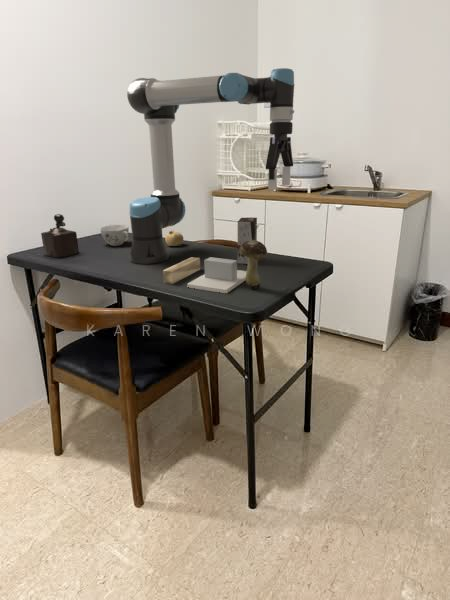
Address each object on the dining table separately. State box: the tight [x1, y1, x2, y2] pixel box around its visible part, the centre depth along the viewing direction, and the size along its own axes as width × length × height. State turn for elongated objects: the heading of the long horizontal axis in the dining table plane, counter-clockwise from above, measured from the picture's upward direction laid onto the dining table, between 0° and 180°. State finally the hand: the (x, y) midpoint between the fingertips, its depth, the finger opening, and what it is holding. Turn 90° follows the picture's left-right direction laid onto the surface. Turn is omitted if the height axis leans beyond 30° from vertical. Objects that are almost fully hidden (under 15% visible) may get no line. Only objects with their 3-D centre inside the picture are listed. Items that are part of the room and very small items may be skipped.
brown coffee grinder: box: [40, 213, 80, 259], centre depth 172 cm, size 16×11×18 cm
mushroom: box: [240, 240, 268, 290], centre depth 129 cm, size 9×9×15 cm
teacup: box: [99, 224, 130, 247], centre depth 189 cm, size 15×12×8 cm
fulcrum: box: [186, 256, 247, 294], centre depth 138 cm, size 14×20×7 cm
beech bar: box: [162, 256, 201, 285], centre depth 145 cm, size 4×18×4 cm, turn 153°
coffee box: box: [237, 217, 258, 265], centre depth 159 cm, size 9×6×16 cm
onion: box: [164, 230, 184, 247], centre depth 186 cm, size 8×8×7 cm
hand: (279, 187), depth 147 cm, fingers open, 13 cm apart
